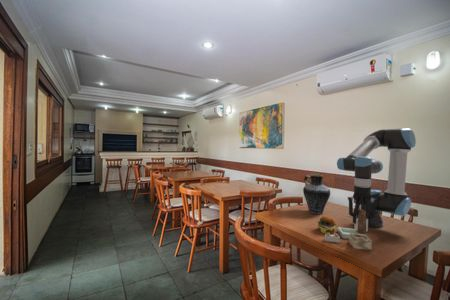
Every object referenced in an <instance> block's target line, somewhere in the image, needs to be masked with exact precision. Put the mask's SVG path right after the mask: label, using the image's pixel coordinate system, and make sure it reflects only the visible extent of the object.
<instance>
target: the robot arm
mask: <svg viewBox="0 0 450 300" xmlns="http://www.w3.org/2000/svg"><path fill="white" fill-rule="evenodd" d="M416 139H417V138H416V135H415V132H414V131H413V129H411V128H389V129H387V128H386V129H379V130H377V131H374V132H371V133H370V134H369V135H367V136H365V137H364V139H363V141H362V142H361V144H359V145H358V146H356V148H355V149H354V150H353V151H351V152H350V153H349V154H348V155H347V156H345V157H339V158H338V159H337V161H336V166H337V169H338V170H341V171H346V172H347V171H348V172H354V183H353V185H354V186H353V194H352V195H351V196H347V201H348V215H349V216H350V217H352V223H353V224H354V228H353V229H355V230H358V218H357V214H358V210H359V209H361V210H365V211H366V228H365V232H368V230H369V228H368V227H370V228H382V227H383V226H384V222H383V219H382V214H381V212H383V213H388V214H391V215H395V216H401V217H404V216H407V214H408V213H409V211H410V209H411V206H412V200H411V198H409V197H408V194H407V192H406V191H405V190H406V175H407V163H408V154H409V152H411V151H412V149H413V148H414V147H415V146H416V143H417V141H416ZM381 147H382V148H387V150H388V151H389V163H388V164H389V165H388V177H387V189H386V190H384V191H382V190H381V189H380V190H379V189H372V188H371V186H372V174H374V175H375V174H378V173H381V172H382V170H383V167H384V166H383V163H382V162H381V161H380V160H378V159H373V158H372V157H370V156H369V155H370V153H371V152H373V151H374V150H376V149H378V148H381ZM354 201H355V204H354ZM353 205H354V206H353Z"/></svg>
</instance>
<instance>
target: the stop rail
mask: <svg viewBox="0 0 450 300" xmlns="http://www.w3.org/2000/svg"><path fill="white" fill-rule="evenodd" d="M340 238H341V236H340V234H339V233H334V234H331V233H324V240H325V242H333V243H339V244H340V242H341V241H340V240H341V239H340Z"/></svg>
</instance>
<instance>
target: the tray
mask: <svg viewBox="0 0 450 300" xmlns="http://www.w3.org/2000/svg"><path fill="white" fill-rule="evenodd" d="M337 232H338V234H339V236H340V238H341V239H344V240H345V239H347V240H349V233H354V234H358V233H357V232H356V230H355V228H349V227H339V226H338V227H337Z"/></svg>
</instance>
